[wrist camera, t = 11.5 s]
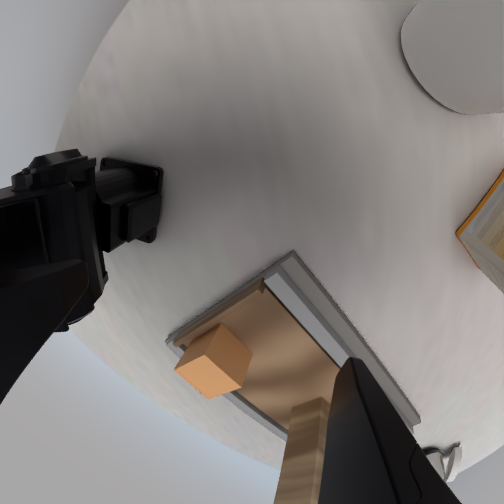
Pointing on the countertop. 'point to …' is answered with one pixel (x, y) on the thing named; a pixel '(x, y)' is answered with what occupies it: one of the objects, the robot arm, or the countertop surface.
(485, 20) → the alcohol
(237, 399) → the track
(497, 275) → the supplement box
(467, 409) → the countertop surface
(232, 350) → the cube
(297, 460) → the tan l-shaped piece
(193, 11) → the countertop surface
